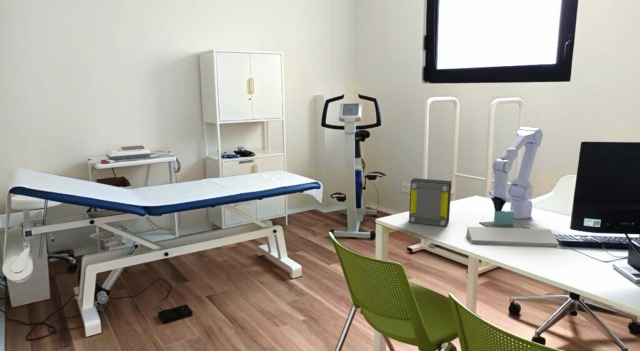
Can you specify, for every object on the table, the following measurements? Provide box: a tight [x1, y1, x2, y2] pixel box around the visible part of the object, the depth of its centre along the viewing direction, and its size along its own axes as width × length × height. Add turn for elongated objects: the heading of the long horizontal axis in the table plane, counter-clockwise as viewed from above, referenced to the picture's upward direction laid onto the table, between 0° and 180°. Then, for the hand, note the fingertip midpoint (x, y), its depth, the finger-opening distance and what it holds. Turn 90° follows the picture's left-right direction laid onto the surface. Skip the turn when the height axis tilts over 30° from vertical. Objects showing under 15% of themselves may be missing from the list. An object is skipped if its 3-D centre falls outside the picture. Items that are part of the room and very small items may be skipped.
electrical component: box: [408, 177, 452, 227], centre depth 215 cm, size 18×10×20 cm, turn 68°
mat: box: [478, 219, 532, 229], centre depth 212 cm, size 18×14×1 cm
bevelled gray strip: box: [465, 226, 560, 247], centre depth 192 cm, size 34×5×10 cm
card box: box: [493, 209, 515, 225], centre depth 213 cm, size 9×2×6 cm, turn 103°
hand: (497, 212), depth 217 cm, fingers closed
